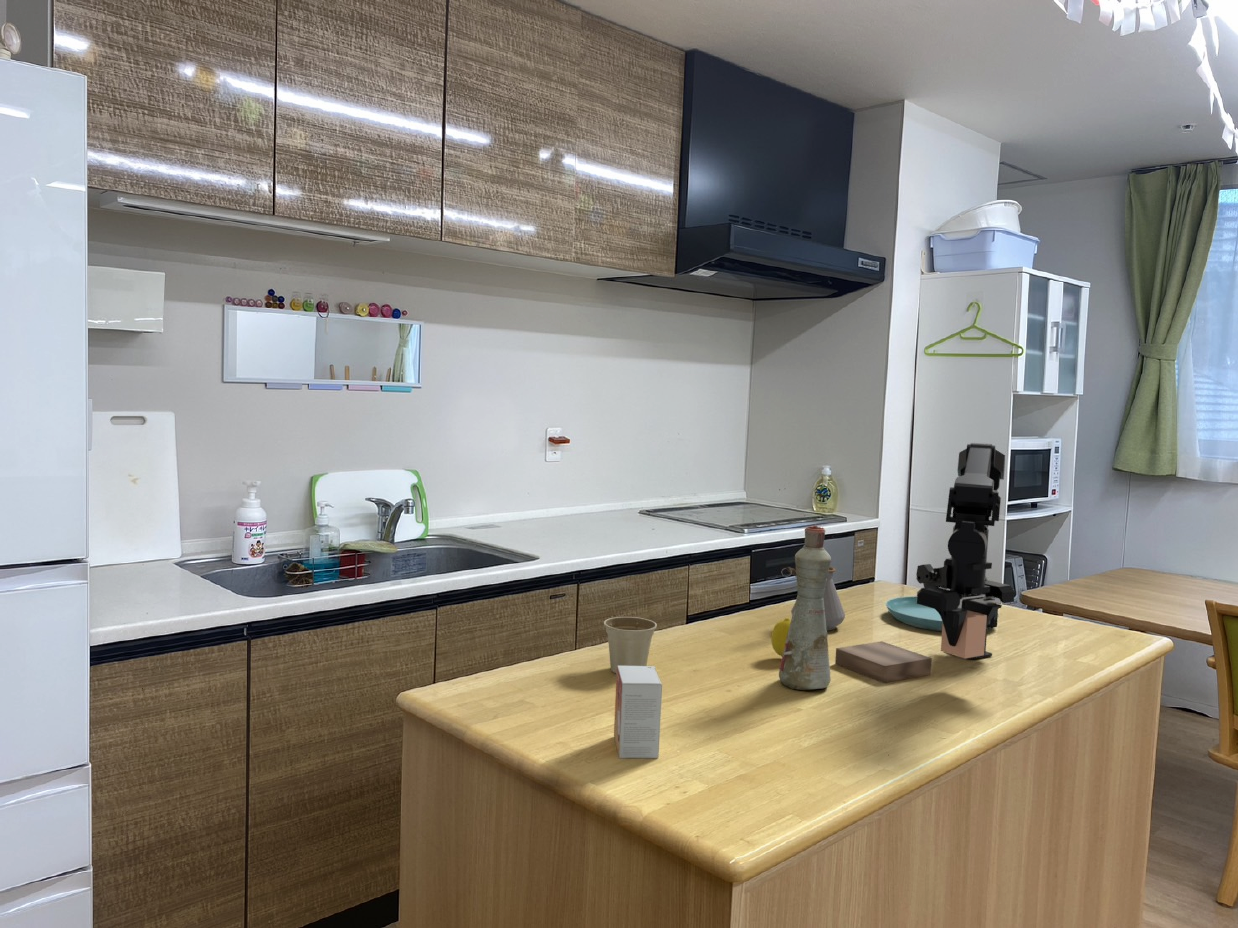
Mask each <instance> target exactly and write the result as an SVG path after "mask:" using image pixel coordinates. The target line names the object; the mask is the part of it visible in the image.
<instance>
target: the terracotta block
mask: <svg viewBox="0 0 1238 928" xmlns="http://www.w3.org/2000/svg"><path fill="white" fill-rule="evenodd" d="M986 620H987V615H984V614H980V613H977V612H973V611H969V610H968V611H967V614H966V618H965V620H964V624H963V627H962V630H961V633H960V636H959V639H958V642H957V644H956V646H951V645H949V642H948V639H947V635H946V632H945V628H944V625H942V631H941V638H940V641H941V642H940V652H943V653H947V654H949V655H953V656H956V657H958V658H961V659H968V658H971V657H977V656H982V655H984V648H985V634H986Z"/></svg>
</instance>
